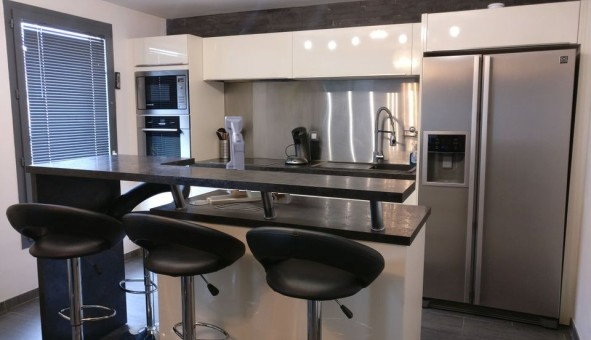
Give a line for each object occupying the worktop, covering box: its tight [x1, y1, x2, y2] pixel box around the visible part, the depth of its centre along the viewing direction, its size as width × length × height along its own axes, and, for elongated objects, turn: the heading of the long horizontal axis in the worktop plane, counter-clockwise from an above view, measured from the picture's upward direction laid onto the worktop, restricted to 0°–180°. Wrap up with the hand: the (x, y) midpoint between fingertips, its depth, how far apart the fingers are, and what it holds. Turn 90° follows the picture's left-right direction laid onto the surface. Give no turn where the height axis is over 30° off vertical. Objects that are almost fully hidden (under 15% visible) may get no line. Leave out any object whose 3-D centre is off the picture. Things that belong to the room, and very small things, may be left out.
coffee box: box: [271, 170, 292, 205], centre depth 236 cm, size 9×6×16 cm
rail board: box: [206, 194, 262, 205], centre depth 242 cm, size 10×30×3 cm, turn 115°
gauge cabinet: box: [246, 190, 261, 198], centre depth 246 cm, size 8×7×4 cm
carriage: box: [230, 190, 247, 198], centre depth 242 cm, size 6×7×7 cm
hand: (239, 189), depth 242 cm, fingers closed on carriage, 3 cm apart
